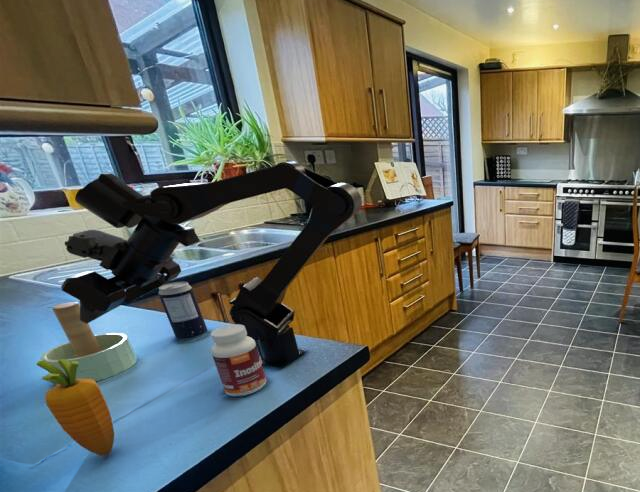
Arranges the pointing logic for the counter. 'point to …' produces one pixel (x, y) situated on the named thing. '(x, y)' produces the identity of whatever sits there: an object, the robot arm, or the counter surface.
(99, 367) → the bowl
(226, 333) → the pill bottle
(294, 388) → the counter surface
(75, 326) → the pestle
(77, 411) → the carrot
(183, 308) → the dark blue jar
